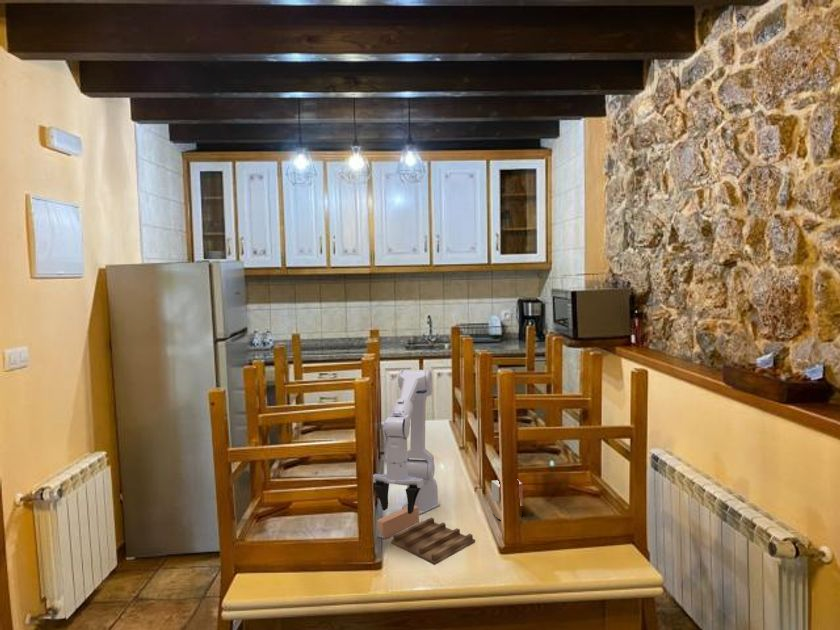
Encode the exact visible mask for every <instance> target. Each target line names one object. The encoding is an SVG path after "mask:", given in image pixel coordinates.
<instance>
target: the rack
mask: <svg viewBox="0 0 840 630" xmlns="http://www.w3.org/2000/svg"><path fill="white" fill-rule="evenodd" d="M446 525H447V524H446V523H445V522H441V523H436V522H435V518H434V517H429V518H426V519H425V520H423V521H420V522H419V523H417V524H415V525H412V526H410V527H408V528H406V529H404V530H402V531H400V532H398V533H396V534H394V535H392V537H393V539H392V540H390V543H391V544H393V545H394V546H397V547H398V548H401V549H402V550H404V551H407V552H408V553H411V554H413V555H415V556H417V557H419V558H421V559H422V560H424V561H426V562H428V563H431V564H433V565H434V566H435V565H436V564H439V563H440V562H442V561H444V560H445V559H448V558H450V557H451V556H453V555H455V554H457V553H458V552H460V551H462V550H463V549H466V548H467V547H469V546H471V545H472V544H474V543H476V539H474V538H473V537H474V536H473V534H472V533H468V534H466V535H465V534H463V533H461V531H460V530H461V529H459V528H454V529H451V528H449V527H446Z"/></svg>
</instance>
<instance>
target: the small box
mask: <svg viewBox="0 0 840 630" xmlns="http://www.w3.org/2000/svg"><path fill="white" fill-rule="evenodd" d="M498 480H499V479H497V480H495V479H494V480H491V502H492V501H499V500H500V484H499V481H498ZM518 481H519V498H520V506H523V504H524V503H523V502H524V501H523V500H524V498H523V497H524V496H523V493H524V492H523V483H522V482H521V481H520V480H518ZM523 507H524V506H523Z"/></svg>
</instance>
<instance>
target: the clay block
mask: <svg viewBox="0 0 840 630" xmlns="http://www.w3.org/2000/svg"><path fill="white" fill-rule="evenodd" d="M376 523H377V525H376V526H377V530H378V529H379V530H380V532H381V533H382V536H383V538H384V539H383V540H385V539H387V538H389V537H391V536H393V534H394V535H395V534H398V533H400V532H402V531H404V530H406V529H408V528H410V527H412V526H414V525H417V524H419V523H420V515H419V507H418V506H416V505H414V510H413V512H412V513H411V514H408V507H406V508H402V509H398V510H397V511H395V512H393V513H390V514H388V515H386V516H383V517H381V518H378V519H377V520H376Z"/></svg>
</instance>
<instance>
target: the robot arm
mask: <svg viewBox="0 0 840 630" xmlns="http://www.w3.org/2000/svg"><path fill="white" fill-rule="evenodd" d="M397 385H398V387H399V390H401V391H400V395H399V398H396V400H395V401H394V402H393V404H392V405H393V406H392V408H391V410H390V413H389V416H388V417H387V418H384V420H383V424H382V435H383V439H384V445H385V448H386V451H385V452H386V454H385V455H386V459H385V460H386V473H374V474H373V483H374V485H373V489H374V491H375V492H376V494H377V496H378V497H377V498H379V501H380V505H381V509H382V511H386V510H388V508H389V489H390V487H389V486H390V485H398V486H406V489H405V493H406V499H407V503H405V504H403V505H402V506H401V508H402V509H404V508H406V507H408V514H411V513H412V512H413V510H414V505H416V506H418V507H419V516H420V515H422V514H424V513H426V512H428V511H430V510H432V509H434V508H435V509H436V508H437V507H439V506H440V505H441V504H440V503H439V497H438V494H439V493H438V492H439V490H438V483H437V481H436V479H435V478H434V477H435V461H434V458H435V457H434V455H433V454H432V453H431V452H430V451H429V450H428V449H426V405H427V404H426V403H427V397H429V396H432V392H433V374H432V371H431V370H430V369H428V368H427V369H403V368H402V369H400V370H399V372H398V375H397ZM408 438H410V442H409V443H410V444H409V445H410V448H409V449H408Z"/></svg>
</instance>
